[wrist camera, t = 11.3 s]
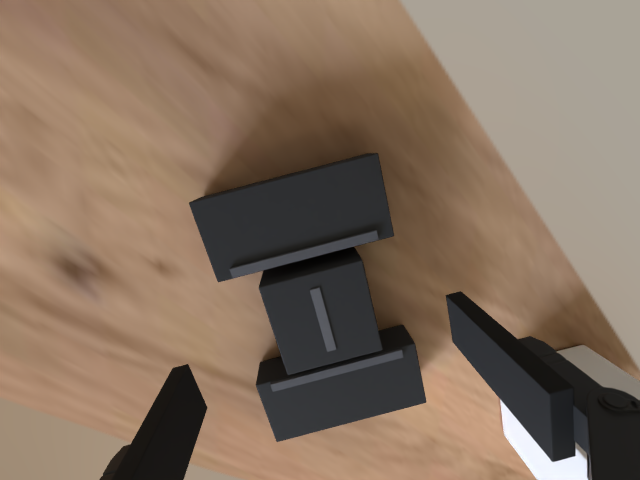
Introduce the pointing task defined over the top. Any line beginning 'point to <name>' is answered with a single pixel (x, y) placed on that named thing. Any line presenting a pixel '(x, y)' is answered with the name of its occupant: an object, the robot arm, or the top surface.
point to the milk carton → (571, 473)
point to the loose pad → (320, 310)
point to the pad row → (303, 243)
